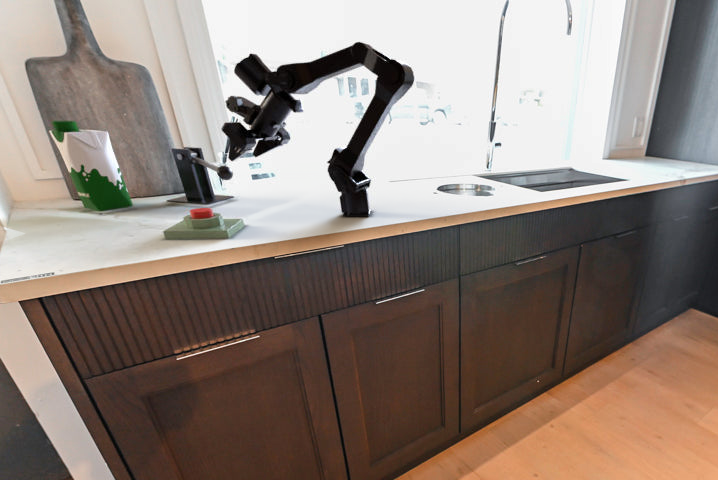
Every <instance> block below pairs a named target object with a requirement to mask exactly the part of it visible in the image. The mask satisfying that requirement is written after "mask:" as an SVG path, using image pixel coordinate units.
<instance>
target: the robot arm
mask: <svg viewBox="0 0 718 480" xmlns="http://www.w3.org/2000/svg"><path fill="white" fill-rule="evenodd" d="M361 67H364V68H366V70H368V71H370V72H371V74H374V75H376V76H377V77H376V81H375V89H374V94H373V97H372V98H371V100H370V102H369V104H368V106H367V108H366V110H365V112H364V114H363V116H362V117H361V118H360V121H359V122H358V124H357V126H356V129H354V132H353V134H352V136H351V138H350V139H349V141H348V144H347V145H346V146H343V147H338V148H337V147H336V148H334V150H333V152H332V155H331V157H330V158H329V160H328V161H326V163H327V164H328V166H327V173H328V176H329V178H330V180H331V181H332V182H333V183H334V185H335V188H336V190H337V192H338V193H340V195H339V203H340V204H339V205H340V211H341V213H342V217H370V215H371V212H372V209H371V208H370V200H369V190H368V188H369V189H370V187H371V182H372V180H371V177H369V176H368V175H367V174H366V173H365V172H364V171H363V169H364V166H365V158H366V154H367V153H368V150H369V148H370V147H371V145H372V143H373V142H374V140H375V138H376V136H377V134H378V133H379V132H380V129H381V127H382V126H383V124H384V122H385V120H386V118H387V117H388V115H389V113H390V111H391V110H392V108H393V106H394V105H395V104H396V103H397V102H399V101H400V100H401V99H402V98H403V97H404V96H405V95H406V94H407V93H408V91H409V90H410V89H411V88H412V87H413V85H414V82H415V75H414V70H413V68H412V67H411V66H410V65H409V63H408V62H407V63H406V62H405V61H402V60H397V59H393V58H390V56H387V55H386V54H384V53H382V52H380V51H379V50H377V49H375V48H374V47H373V46H372V45H370V44H368V43H365V42H362V41H357V42H354V43H353V44H352V45H350V46H347V47H345V48H342V49H339V50H337V51H334V52H331V53H329V54H326V55H324V56H321V57H319V58H316V59H314V60H311V61H306V62H293V63H285V64H281V65H279V66H278V67H277V68H276V70H275V71H272V70H271V69H270V68H269V67H268V66H267V65H266V64H265V63H264V62H263V60H262V58H261V57H260V56H259V55H258V54H256V53H249V54H248V55H247V57H245V58H242V59H241V60H240V61H239V62H237V63H236V64H235V66H234V70H233V73H234V75H235V76H236V77H238V79H239V80H240V81H241V82H242V83H243V84H244V85H245V86H246V87H247V88H248V89H249V90H250V91H251V92H252V93H253V94H254V95H255V96H262V97H264V98H263V100H262V101H261V103H260V104H257V103H254V102H253V101H251V100H249V99H248V98H246V97H243V96H238V95H237V96H236V95H230V96H228V97H227V100H225V107H226V108H227V109H228V111H229V112H231V113H234V114H236V115H238V116H240V117H241V118H243V119H242V122H243V123H245V124H246V125H248V127H249V129H248V128H247V127H246V126H244V125H243V124H242V122H240V121H228V122H226V121H225V122H224V123H223V125H222V127H221V132H222V133H224V134H225V135H226V137H227V138H228V139H229V150H228V158H227V159H228V160H229V161H230V162H235V161H236V160H238V159H239V158H241V157H243V156H244V155H246V154H248V153H249V152H251V151H253V152H252V156H253V157H254V158H258V157H261V156H263V155H265V154H267V153H269V152H271V151H273V150H276V149H278V148H280V147H283V146H284V145H287V144H288V143H289V142H290V140H291V135H290V133H289V132H288V130H286V128H285V127H286V126H287V123H286V122H285V121H286V120H287V118H288V116H290V114H291V112H293V113H295V114H296V113H297V114H298V113H299V114H300V113H304V107H303V104H302V100H301V99H296V98H295V97H294V96H293V95H308V94H309V93H311V92H312V91H314V90H315V89H317V88H319V86H320V84H322V83H323V82H324V81H327V80H329V79H332V78H334V77H337V76H340V75H343V74H346V73H348V72H350V71H353V70H356V69H359V68H361ZM253 148H254V150H253Z"/></svg>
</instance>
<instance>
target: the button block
mask: <svg viewBox="0 0 718 480" xmlns="http://www.w3.org/2000/svg"><path fill="white" fill-rule="evenodd" d="M213 215H214V217H211V218H205V219H192V217H191V214H187V215H185V216H183V217H182V219H183V220H181V221H179V222H177V223H175V224H173V225H172V226H170V227H168V228H166V229H165V230H163V231H162V234H163V236H164V239H165V240H195V239H196V240H198V239H199V240H200V239H201V240H205V239H206V240H208V239H211V240H212V239H230V238H231V237H233V236H234V235H235V234H236V233H238V232H239V231H240V230H242V229H243V228H244V227H245V225H246V224H245V222H244V218H223V217H224V216H223V215H222V214H221V213H218V212H213Z"/></svg>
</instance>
